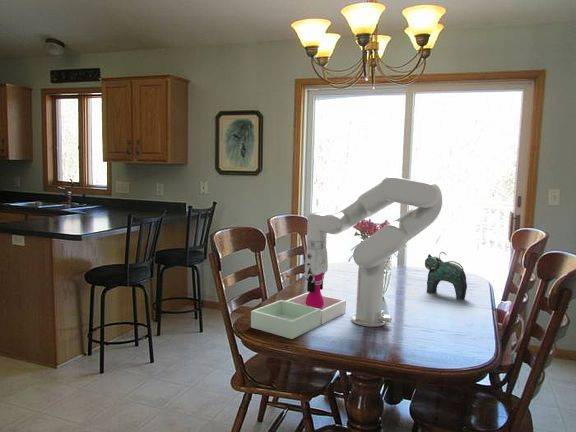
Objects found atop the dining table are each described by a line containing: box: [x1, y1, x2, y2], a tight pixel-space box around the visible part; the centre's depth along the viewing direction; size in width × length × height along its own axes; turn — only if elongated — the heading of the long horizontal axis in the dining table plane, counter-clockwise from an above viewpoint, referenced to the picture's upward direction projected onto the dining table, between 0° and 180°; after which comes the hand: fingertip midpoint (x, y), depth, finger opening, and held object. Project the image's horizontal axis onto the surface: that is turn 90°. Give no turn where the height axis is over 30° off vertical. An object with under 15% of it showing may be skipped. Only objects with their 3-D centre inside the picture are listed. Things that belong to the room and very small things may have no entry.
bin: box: [250, 299, 322, 340], centre depth 169 cm, size 18×18×6 cm
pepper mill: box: [305, 272, 324, 310], centre depth 183 cm, size 7×7×20 cm
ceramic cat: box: [424, 251, 468, 301], centre depth 215 cm, size 20×6×20 cm, turn 41°
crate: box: [285, 291, 347, 325], centre depth 184 cm, size 18×18×5 cm
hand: (315, 290), depth 183 cm, fingers closed on pepper mill, 5 cm apart
